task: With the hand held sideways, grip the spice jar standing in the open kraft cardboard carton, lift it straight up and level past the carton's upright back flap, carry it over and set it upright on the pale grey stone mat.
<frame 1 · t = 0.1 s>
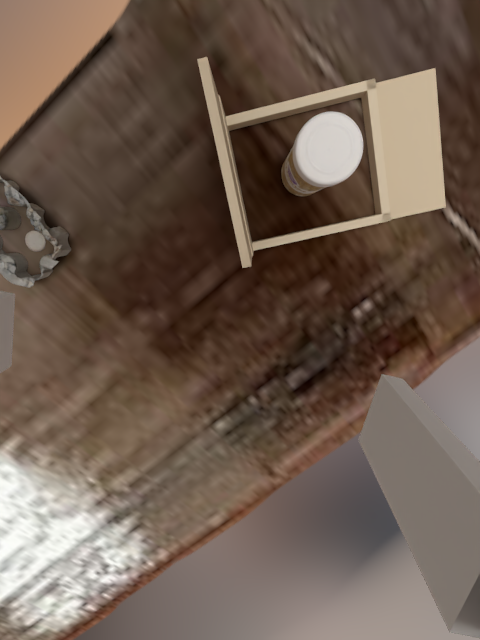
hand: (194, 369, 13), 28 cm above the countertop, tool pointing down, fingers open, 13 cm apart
spice jar: (303, 173, 37), resting in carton
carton: (303, 173, 37), on the countertop
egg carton: (24, 231, 40), on the countertop
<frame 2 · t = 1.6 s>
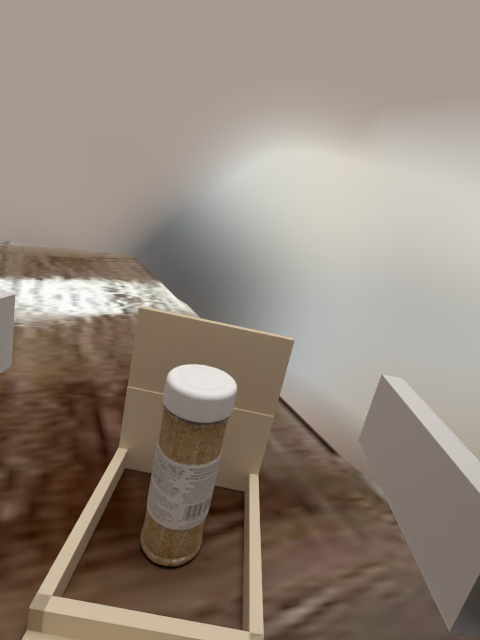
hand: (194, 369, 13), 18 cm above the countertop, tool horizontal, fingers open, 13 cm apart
spice jar: (169, 543, 27), resting in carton
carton: (170, 541, 27), on the countertop
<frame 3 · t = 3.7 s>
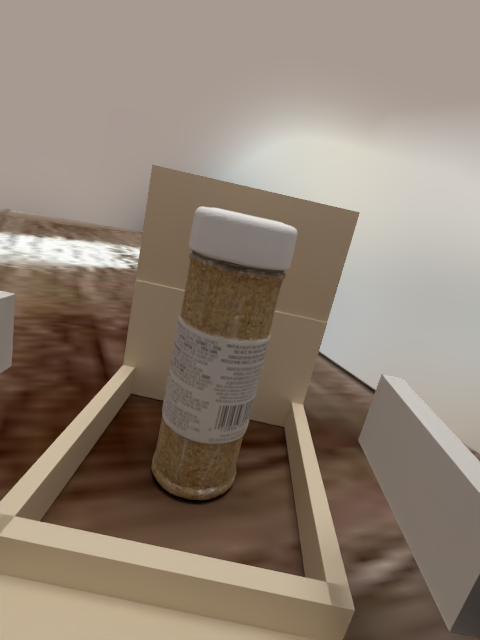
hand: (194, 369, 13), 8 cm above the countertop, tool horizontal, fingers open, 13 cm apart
spice jar: (191, 475, 20), resting in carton
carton: (192, 472, 19), on the countertop
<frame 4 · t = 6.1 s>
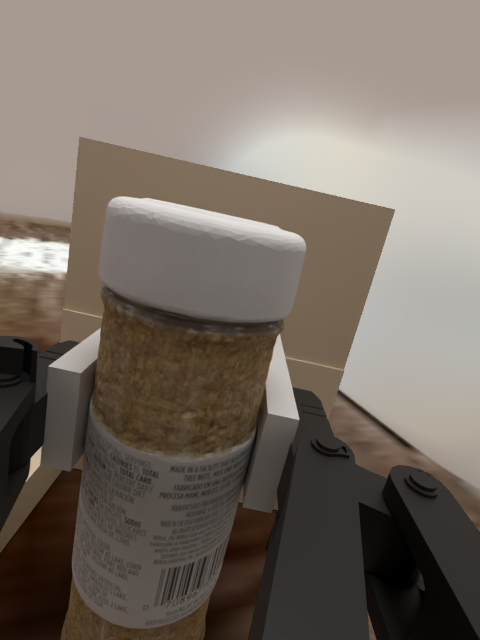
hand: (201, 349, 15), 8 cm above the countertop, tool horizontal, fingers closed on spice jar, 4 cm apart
spice jar: (133, 635, 12), resting in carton, touching gripper
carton: (134, 630, 12), on the countertop
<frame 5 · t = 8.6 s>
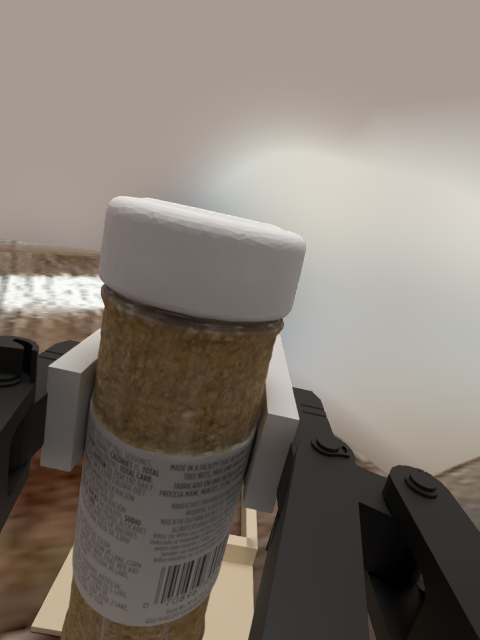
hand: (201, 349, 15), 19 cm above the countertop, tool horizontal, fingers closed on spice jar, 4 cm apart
spice jar: (133, 633, 12), point 10 cm above the countertop, touching gripper
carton: (182, 483, 33), on the countertop
when the fingers open (10 cm above the countertop, at t = 11.2 s): spice jar drops 1 cm, resting on stone mat.
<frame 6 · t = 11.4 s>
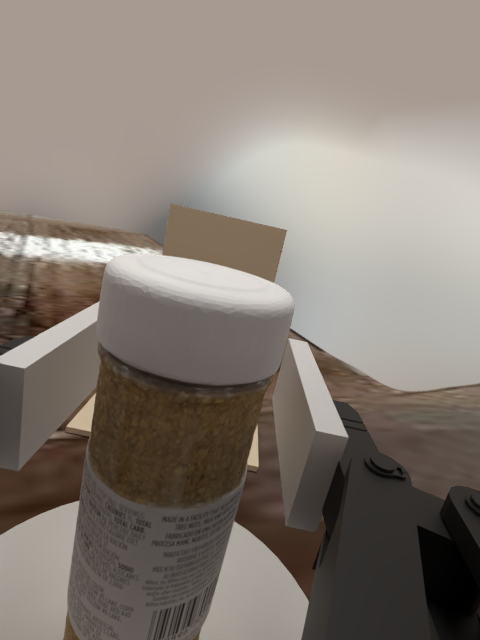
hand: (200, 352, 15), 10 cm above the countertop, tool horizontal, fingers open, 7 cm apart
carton: (193, 369, 37), on the countertop
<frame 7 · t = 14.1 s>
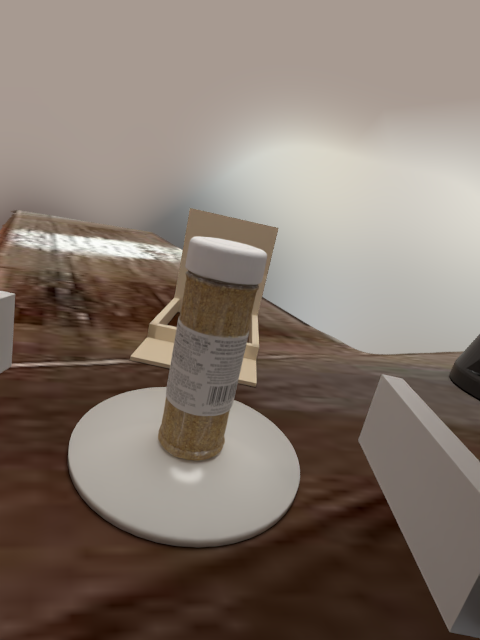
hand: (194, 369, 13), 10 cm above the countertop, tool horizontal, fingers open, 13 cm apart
spice jar: (189, 444, 25), resting on stone mat
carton: (208, 332, 49), on the countertop
stone mat: (189, 449, 25), on the countertop
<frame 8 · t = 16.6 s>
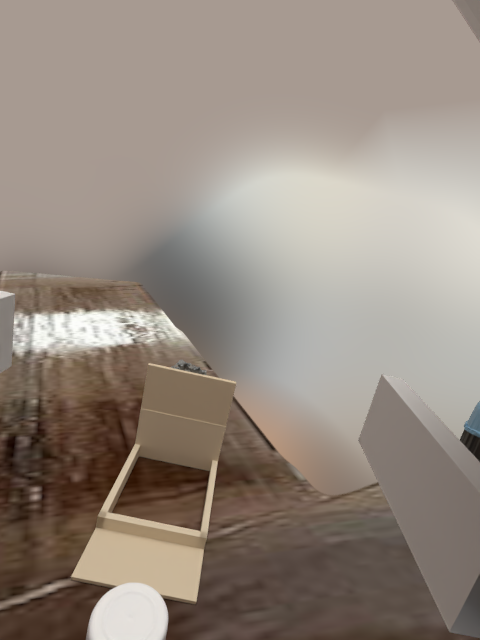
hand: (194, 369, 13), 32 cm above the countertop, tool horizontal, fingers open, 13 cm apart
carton: (164, 494, 49), on the countertop
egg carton: (182, 386, 80), on the countertop
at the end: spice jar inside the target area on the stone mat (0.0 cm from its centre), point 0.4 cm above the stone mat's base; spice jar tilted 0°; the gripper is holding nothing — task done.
